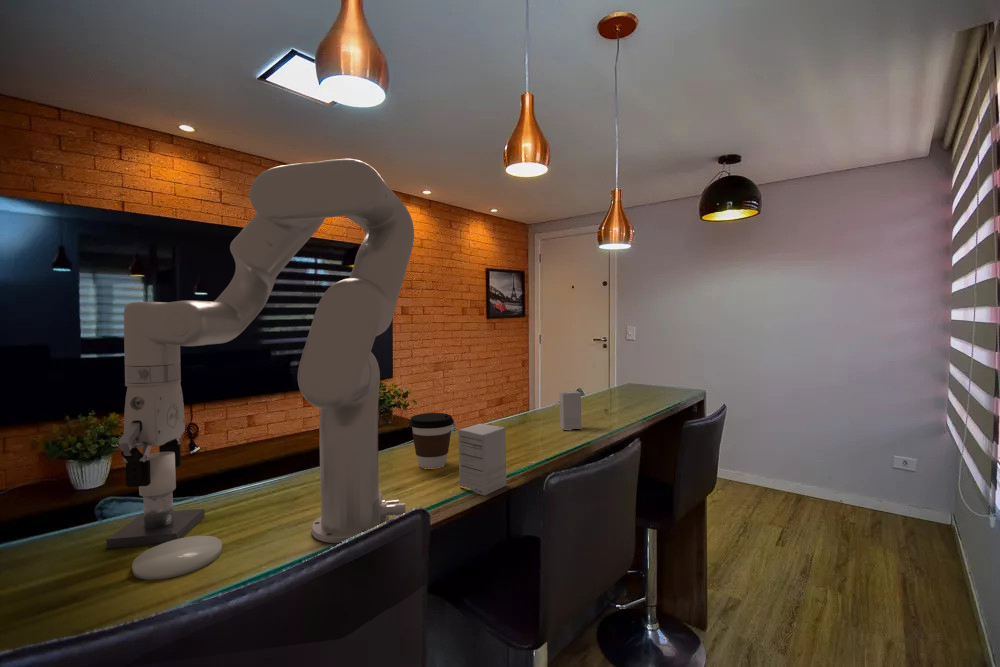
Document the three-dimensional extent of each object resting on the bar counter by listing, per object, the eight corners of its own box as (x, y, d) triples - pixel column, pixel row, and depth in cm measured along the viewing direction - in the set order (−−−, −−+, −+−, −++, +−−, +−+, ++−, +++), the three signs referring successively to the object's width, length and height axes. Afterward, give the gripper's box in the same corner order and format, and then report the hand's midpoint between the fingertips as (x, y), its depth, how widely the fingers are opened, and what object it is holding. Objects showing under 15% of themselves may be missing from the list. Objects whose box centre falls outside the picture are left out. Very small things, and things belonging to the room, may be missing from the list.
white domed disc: (233, 538, 76) (232, 532, 76) (203, 574, 65) (202, 567, 65) (158, 545, 74) (157, 539, 74) (114, 583, 63) (114, 576, 63)
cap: (181, 484, 82) (180, 450, 81) (166, 495, 77) (165, 459, 76) (143, 487, 80) (142, 452, 80) (126, 498, 76) (125, 461, 75)
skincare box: (577, 427, 151) (577, 390, 151) (582, 430, 147) (581, 392, 147) (559, 428, 150) (558, 391, 150) (563, 431, 146) (563, 393, 146)
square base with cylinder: (204, 516, 85) (203, 478, 84) (177, 542, 75) (175, 499, 75) (143, 521, 83) (141, 482, 83) (106, 548, 73) (105, 504, 73)
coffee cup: (456, 458, 119) (455, 412, 118) (453, 472, 108) (452, 421, 107) (413, 459, 118) (412, 412, 118) (405, 473, 107) (404, 422, 107)
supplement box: (481, 478, 103) (480, 422, 103) (507, 486, 99) (506, 427, 98) (458, 488, 98) (457, 428, 97) (484, 496, 93) (483, 434, 92)
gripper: (149, 381, 70) (151, 493, 71) (201, 369, 87) (202, 459, 88) (93, 382, 69) (95, 496, 69) (156, 370, 86) (158, 461, 86)
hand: (155, 475), depth 79 cm, fingers open, 9 cm apart
